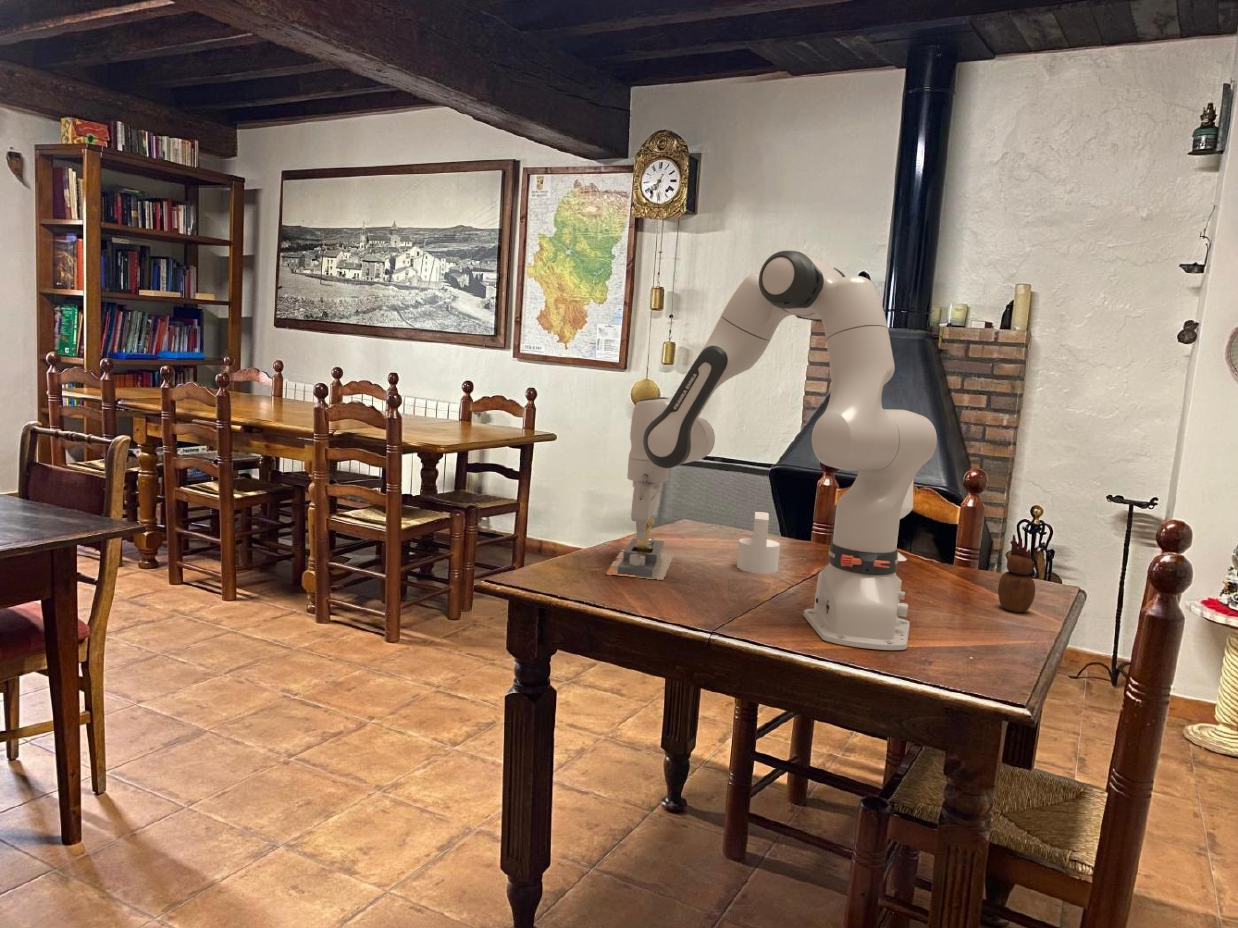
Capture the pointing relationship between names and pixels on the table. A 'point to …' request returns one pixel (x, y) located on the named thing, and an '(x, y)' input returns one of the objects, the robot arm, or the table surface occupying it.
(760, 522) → the cylinder with rectangular tab
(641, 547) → the brass pin
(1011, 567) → the wooden figurine
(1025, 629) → the table surface
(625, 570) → the two-knob base plate
